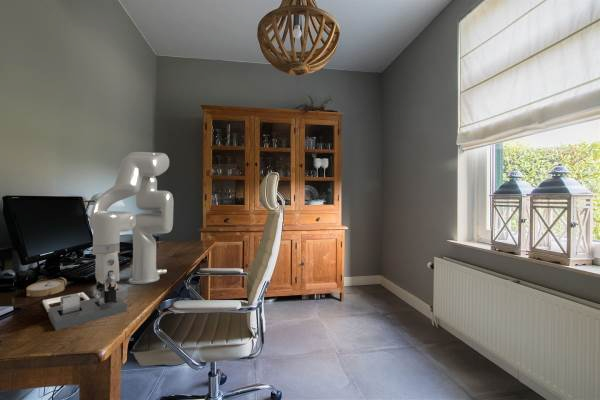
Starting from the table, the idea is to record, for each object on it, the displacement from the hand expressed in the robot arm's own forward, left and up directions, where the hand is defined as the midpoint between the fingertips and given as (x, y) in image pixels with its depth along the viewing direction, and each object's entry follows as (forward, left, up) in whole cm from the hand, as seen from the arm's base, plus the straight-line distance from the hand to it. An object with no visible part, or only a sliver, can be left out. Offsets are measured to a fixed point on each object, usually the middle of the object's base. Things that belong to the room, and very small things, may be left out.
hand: (105, 298), depth 93 cm
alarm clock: (+10, -40, -5) cm, 41 cm away
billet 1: (+9, 0, -4) cm, 10 cm away
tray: (+8, -17, -4) cm, 19 cm away
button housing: (-5, -13, -4) cm, 14 cm away
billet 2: (0, 0, -4) cm, 4 cm away
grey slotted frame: (+5, 0, -4) cm, 6 cm away
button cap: (-5, -13, -2) cm, 14 cm away
